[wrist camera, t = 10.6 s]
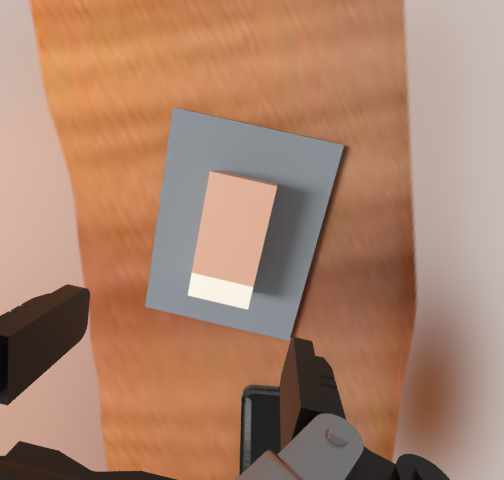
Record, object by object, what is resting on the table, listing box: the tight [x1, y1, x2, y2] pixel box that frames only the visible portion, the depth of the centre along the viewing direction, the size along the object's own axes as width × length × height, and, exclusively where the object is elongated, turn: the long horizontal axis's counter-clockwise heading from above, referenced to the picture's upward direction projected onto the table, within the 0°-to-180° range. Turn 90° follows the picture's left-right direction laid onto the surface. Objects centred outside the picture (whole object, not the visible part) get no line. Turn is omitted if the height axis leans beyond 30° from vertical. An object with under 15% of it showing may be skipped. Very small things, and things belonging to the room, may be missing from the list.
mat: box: [145, 107, 344, 341], centre depth 27 cm, size 18×14×1 cm
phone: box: [240, 385, 281, 475], centre depth 33 cm, size 8×1×15 cm
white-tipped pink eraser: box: [188, 170, 277, 310], centre depth 25 cm, size 10×5×4 cm, turn 168°
